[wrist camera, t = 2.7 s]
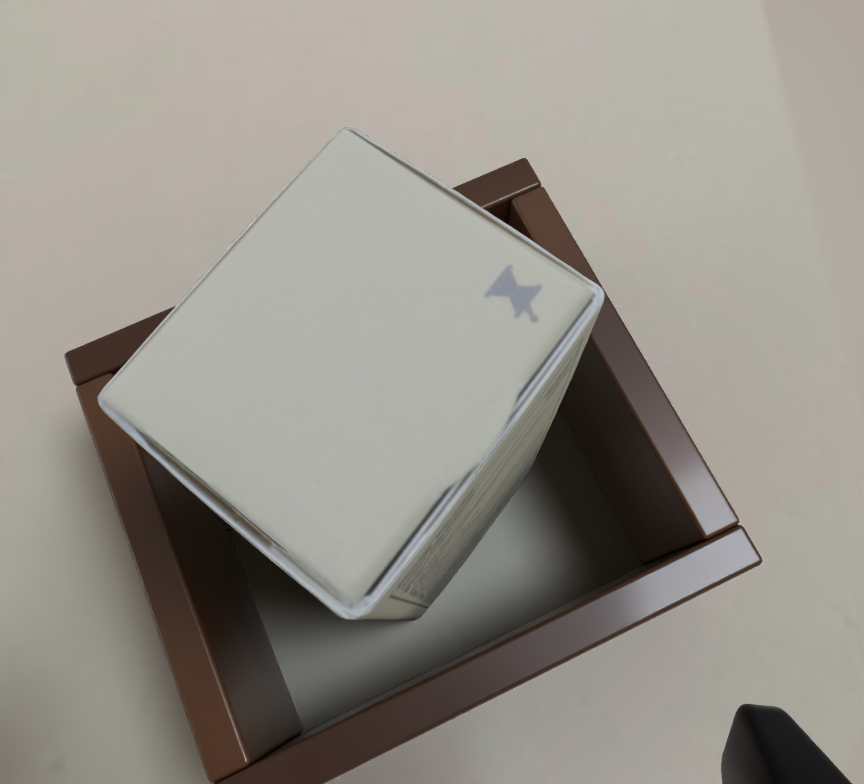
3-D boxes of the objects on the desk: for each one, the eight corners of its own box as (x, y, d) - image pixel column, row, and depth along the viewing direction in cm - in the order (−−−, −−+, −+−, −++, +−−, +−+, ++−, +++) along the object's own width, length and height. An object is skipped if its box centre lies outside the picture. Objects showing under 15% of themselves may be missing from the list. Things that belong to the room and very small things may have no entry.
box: (407, 369, 21) (358, 96, 10) (539, 466, 20) (632, 275, 9) (277, 526, 20) (74, 397, 9) (411, 636, 19) (355, 634, 8)
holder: (688, 581, 19) (766, 561, 14) (286, 782, 18) (224, 833, 13) (511, 260, 22) (525, 155, 17) (151, 418, 21) (61, 352, 16)
